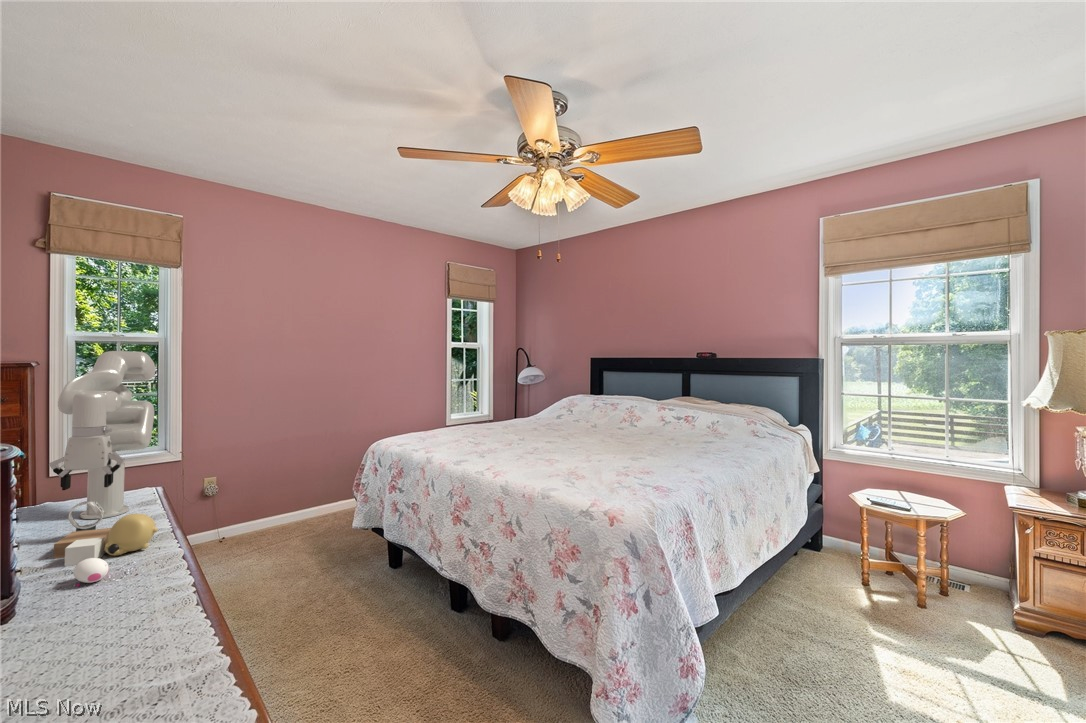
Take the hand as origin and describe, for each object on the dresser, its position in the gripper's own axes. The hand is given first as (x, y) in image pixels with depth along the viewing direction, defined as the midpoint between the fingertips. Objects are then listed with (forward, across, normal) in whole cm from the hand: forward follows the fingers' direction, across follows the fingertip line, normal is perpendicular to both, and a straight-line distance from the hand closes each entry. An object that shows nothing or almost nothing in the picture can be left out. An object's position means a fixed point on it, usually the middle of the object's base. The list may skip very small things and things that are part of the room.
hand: (87, 487), depth 141 cm
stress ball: (+16, -14, +35) cm, 41 cm away
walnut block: (+16, -4, +10) cm, 19 cm away
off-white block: (+16, -7, +19) cm, 26 cm away
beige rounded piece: (+16, -16, +16) cm, 28 cm away
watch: (+16, 0, -1) cm, 16 cm away
